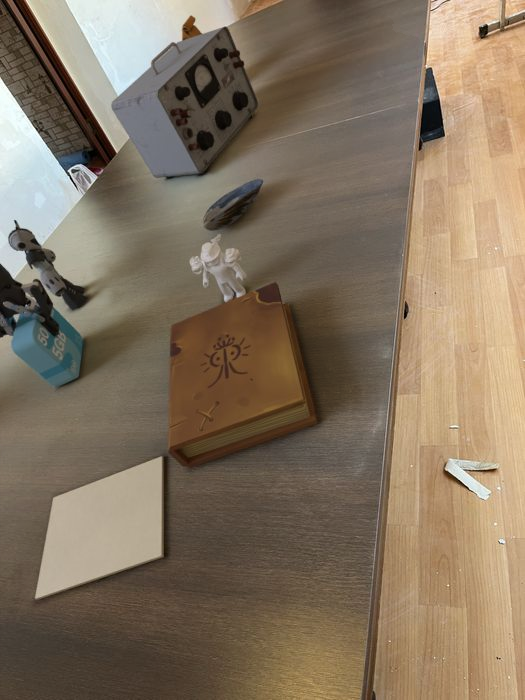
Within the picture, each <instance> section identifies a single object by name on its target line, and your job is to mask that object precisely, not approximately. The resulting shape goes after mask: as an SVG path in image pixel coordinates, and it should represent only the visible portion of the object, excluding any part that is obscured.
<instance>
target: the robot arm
mask: <svg viewBox="0 0 525 700" xmlns="http://www.w3.org/2000/svg"><path fill="white" fill-rule="evenodd" d="M27 294H28V295H29V296H28V295H27ZM33 298H34V299H33ZM36 302H37V303H38V304H37V303H36ZM26 306H27V308H25V307H26ZM53 307H54V302H53V301H52V299H51V297H50V295H49V293H48V292H47V290H46V287H45V286H44V285H43V283H42V281H41V279H39V278H34V279H33V280H32V282H30V283H25V284H23V283H22V282H19V281H18V280H16V279H14V278H13V276H12V274H11V273H10V272H9V270H7V268H6V267H5V266H4V265H3V264H2V263H0V339H2V338H4V336H9V337H13V335H14V331H15V328H16V324H17V319H16V318H15V317H14V316H16V315H19V314H22V315H24V316H26V317H31V318H33V319H35V320H37V321H39V322H41V323H40V324H41V325H42V326H43V327H44V328H45V329H46V330H47V331H49V332H50V333H51V334H52V335H53V336H54V337H55V336H57V335H58V334H59V330H60V329H59V327H60V326H59V324H58V323H57V322H56V321H55V320H54V319H53V318H52V317H51V316H50V315H51V312H52V308H53ZM37 312H38V313H37Z"/></svg>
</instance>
